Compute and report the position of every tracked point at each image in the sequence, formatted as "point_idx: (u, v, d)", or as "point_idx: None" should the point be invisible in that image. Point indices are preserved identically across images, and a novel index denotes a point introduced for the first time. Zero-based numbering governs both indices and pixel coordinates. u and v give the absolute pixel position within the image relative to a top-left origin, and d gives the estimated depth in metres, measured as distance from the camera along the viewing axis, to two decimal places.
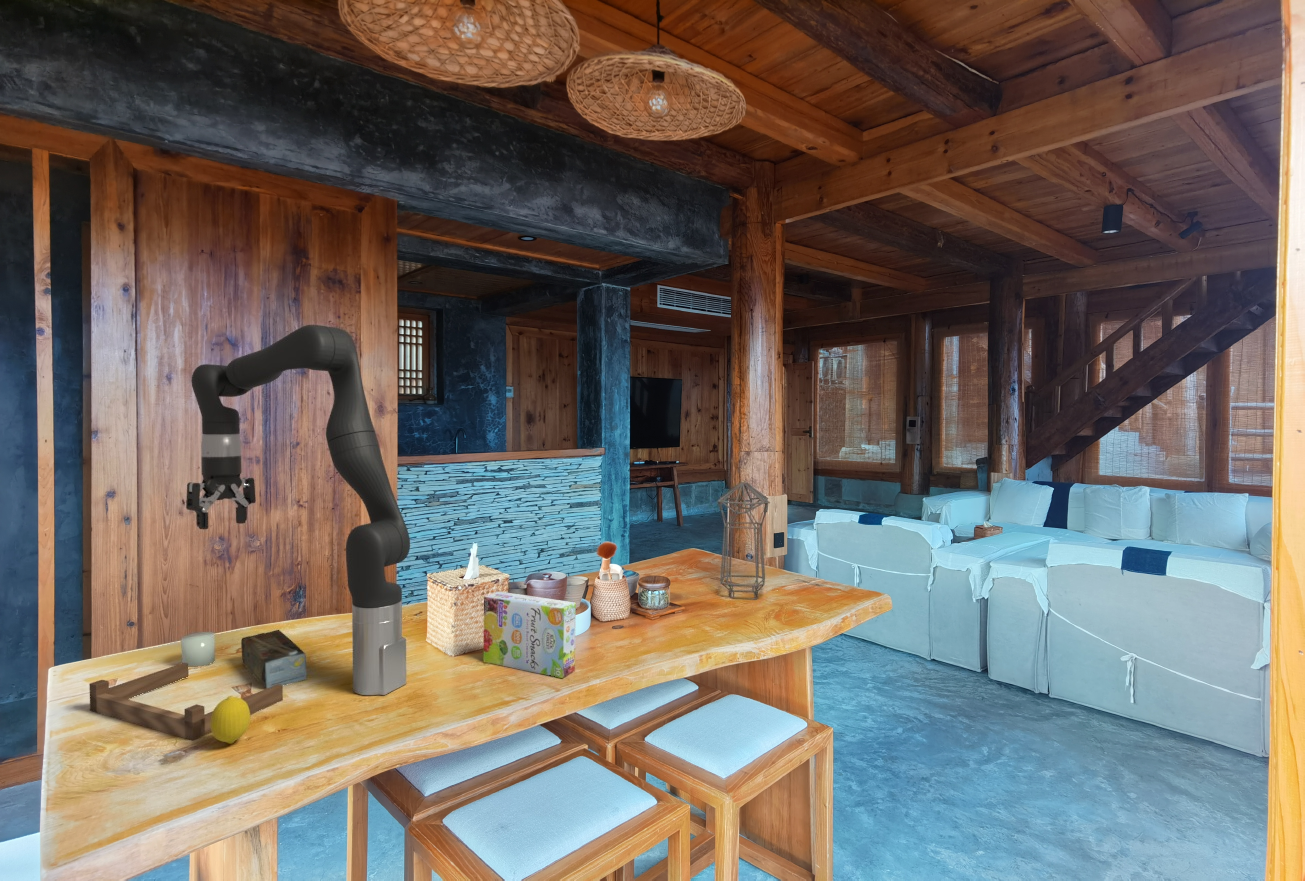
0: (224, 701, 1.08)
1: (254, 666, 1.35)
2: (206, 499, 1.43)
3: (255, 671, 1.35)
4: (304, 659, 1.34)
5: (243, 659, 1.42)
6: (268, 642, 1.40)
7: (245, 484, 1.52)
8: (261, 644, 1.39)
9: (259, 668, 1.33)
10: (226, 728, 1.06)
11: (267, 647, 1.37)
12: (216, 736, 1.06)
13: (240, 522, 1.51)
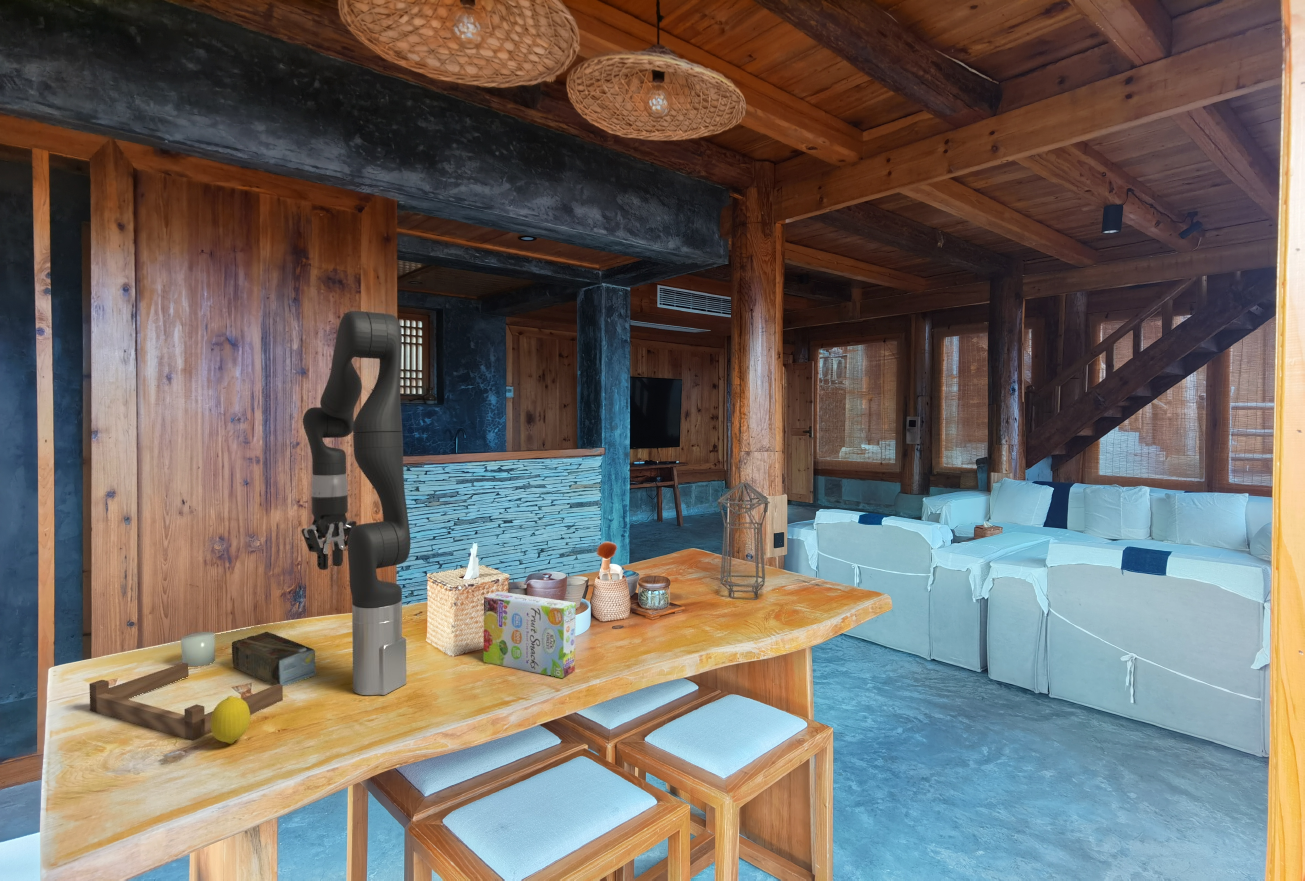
0: (224, 701, 1.08)
1: (258, 667, 1.35)
2: (322, 541, 1.49)
3: (260, 671, 1.34)
4: (314, 655, 1.37)
5: (236, 663, 1.40)
6: (266, 643, 1.39)
7: (347, 525, 1.56)
8: (260, 645, 1.38)
9: (267, 667, 1.33)
10: (226, 729, 1.06)
11: (269, 647, 1.37)
12: (216, 736, 1.06)
13: (337, 565, 1.53)
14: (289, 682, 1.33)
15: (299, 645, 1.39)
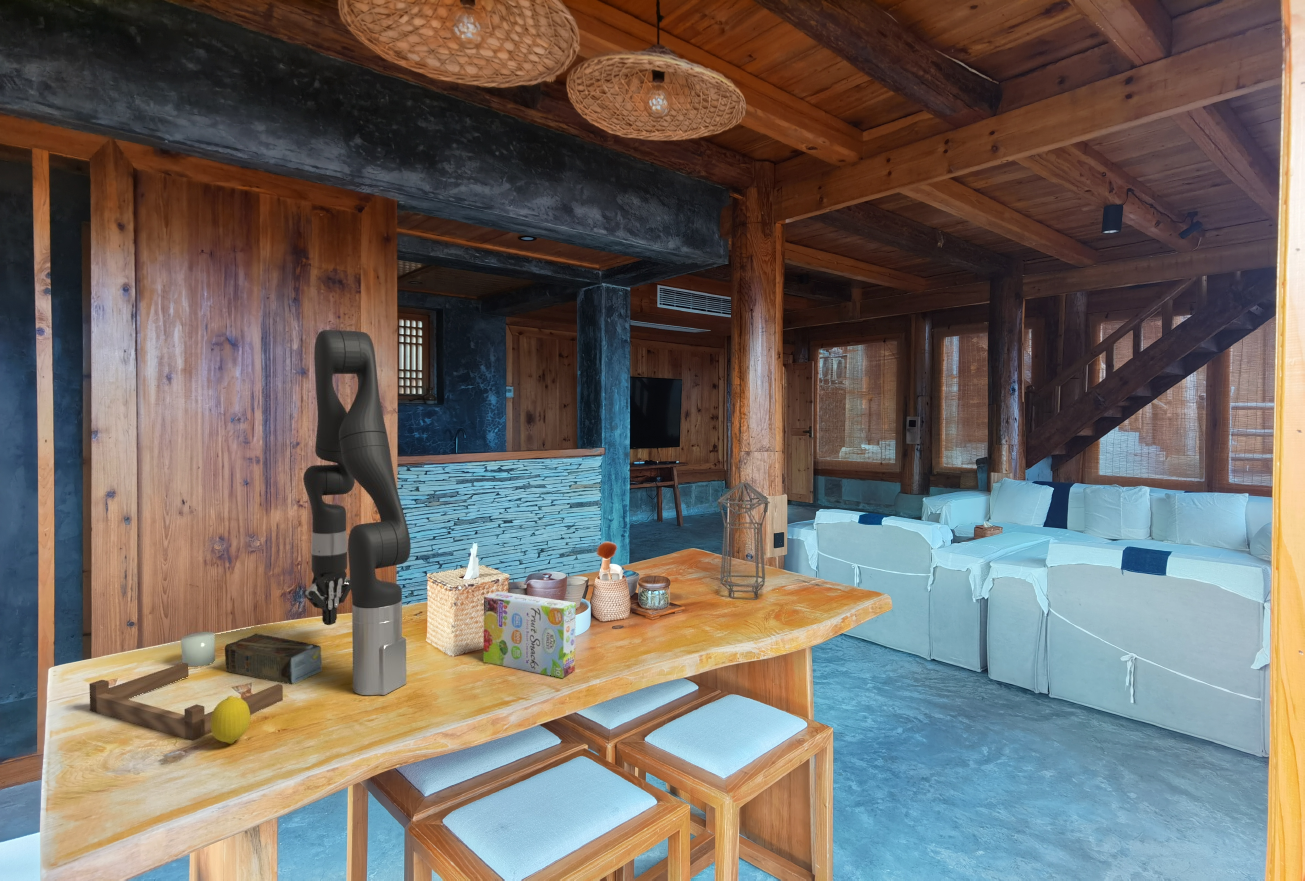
0: (224, 701, 1.08)
1: (263, 666, 1.35)
2: (325, 598, 1.51)
3: (265, 671, 1.35)
4: (320, 651, 1.39)
5: (231, 666, 1.38)
6: (265, 643, 1.39)
7: (345, 582, 1.56)
8: (259, 646, 1.38)
9: (274, 666, 1.34)
10: (226, 729, 1.06)
11: (270, 647, 1.37)
12: (216, 736, 1.06)
13: None
14: (299, 679, 1.34)
15: (302, 643, 1.40)
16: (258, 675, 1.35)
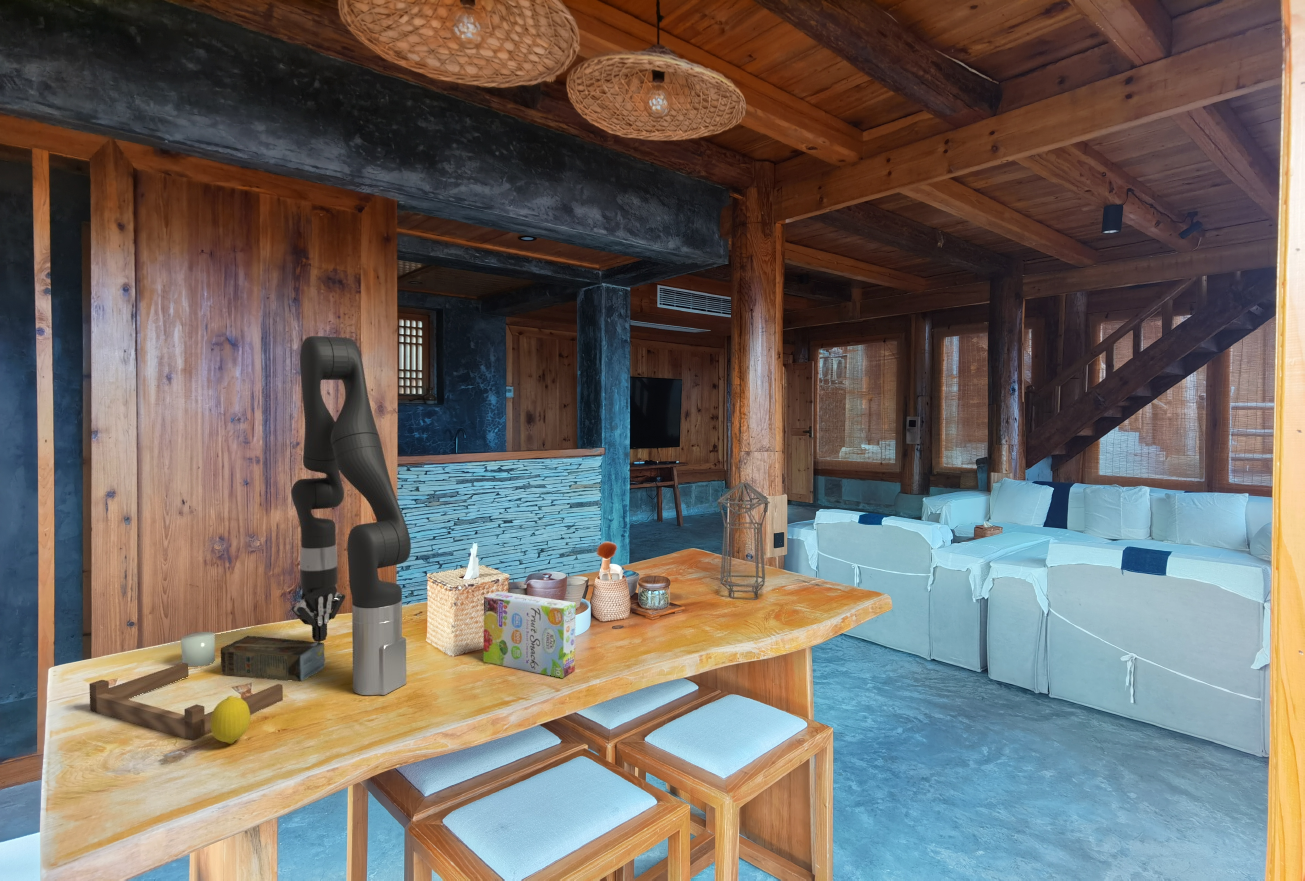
0: (224, 701, 1.08)
1: (267, 666, 1.35)
2: (315, 614, 1.48)
3: (270, 671, 1.35)
4: (323, 648, 1.41)
5: (228, 668, 1.36)
6: (264, 644, 1.39)
7: (336, 597, 1.53)
8: (259, 646, 1.37)
9: (280, 665, 1.35)
10: (226, 729, 1.06)
11: (272, 647, 1.37)
12: (216, 736, 1.06)
13: None
14: (307, 676, 1.36)
15: (303, 641, 1.41)
16: (261, 675, 1.35)
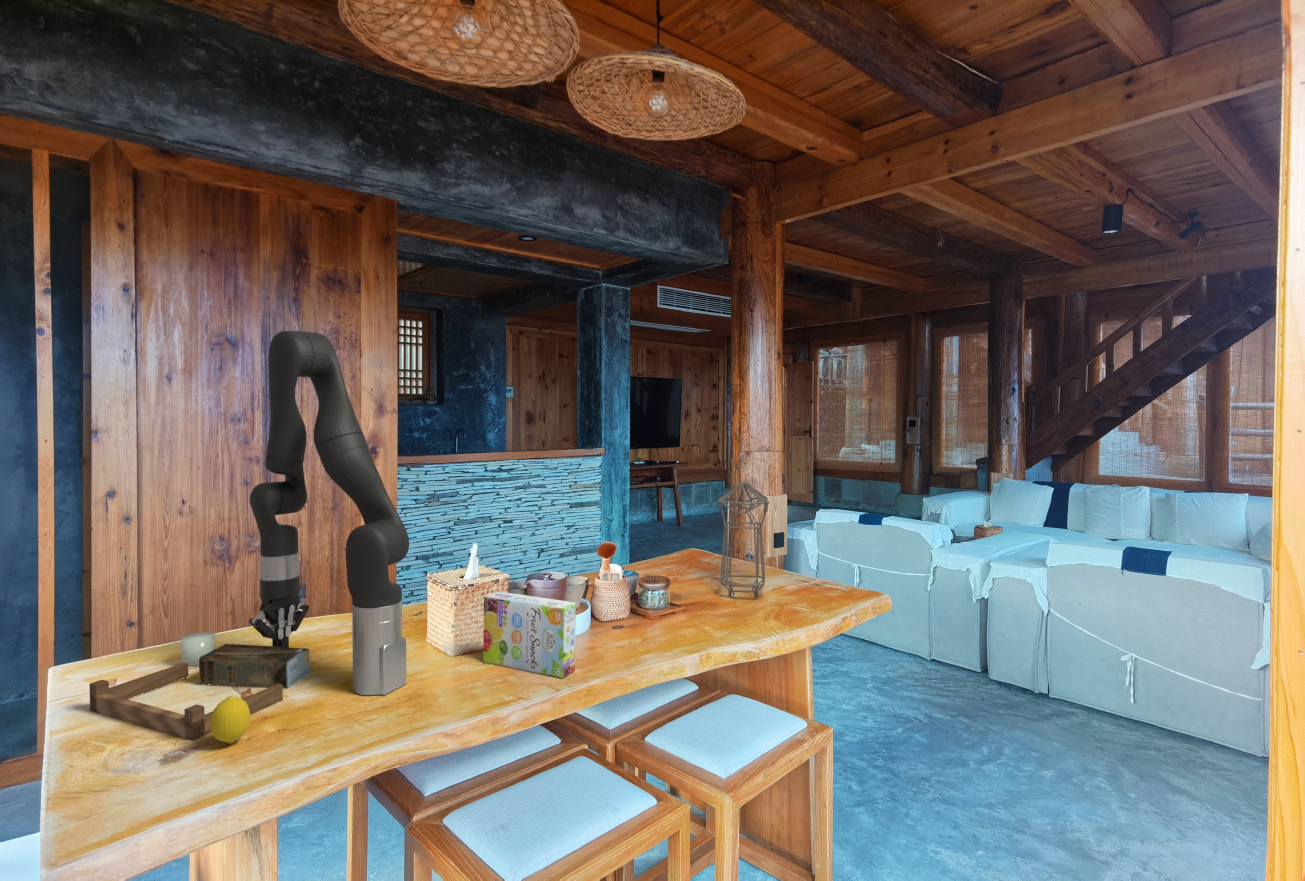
0: (224, 701, 1.08)
1: (251, 674, 1.31)
2: (275, 627, 1.39)
3: (253, 679, 1.31)
4: None
5: (207, 678, 1.32)
6: (245, 652, 1.34)
7: (299, 608, 1.44)
8: (241, 654, 1.33)
9: (265, 673, 1.31)
10: (226, 729, 1.06)
11: (254, 655, 1.33)
12: (216, 736, 1.06)
13: None
14: (293, 683, 1.32)
15: (286, 648, 1.37)
16: (244, 684, 1.31)
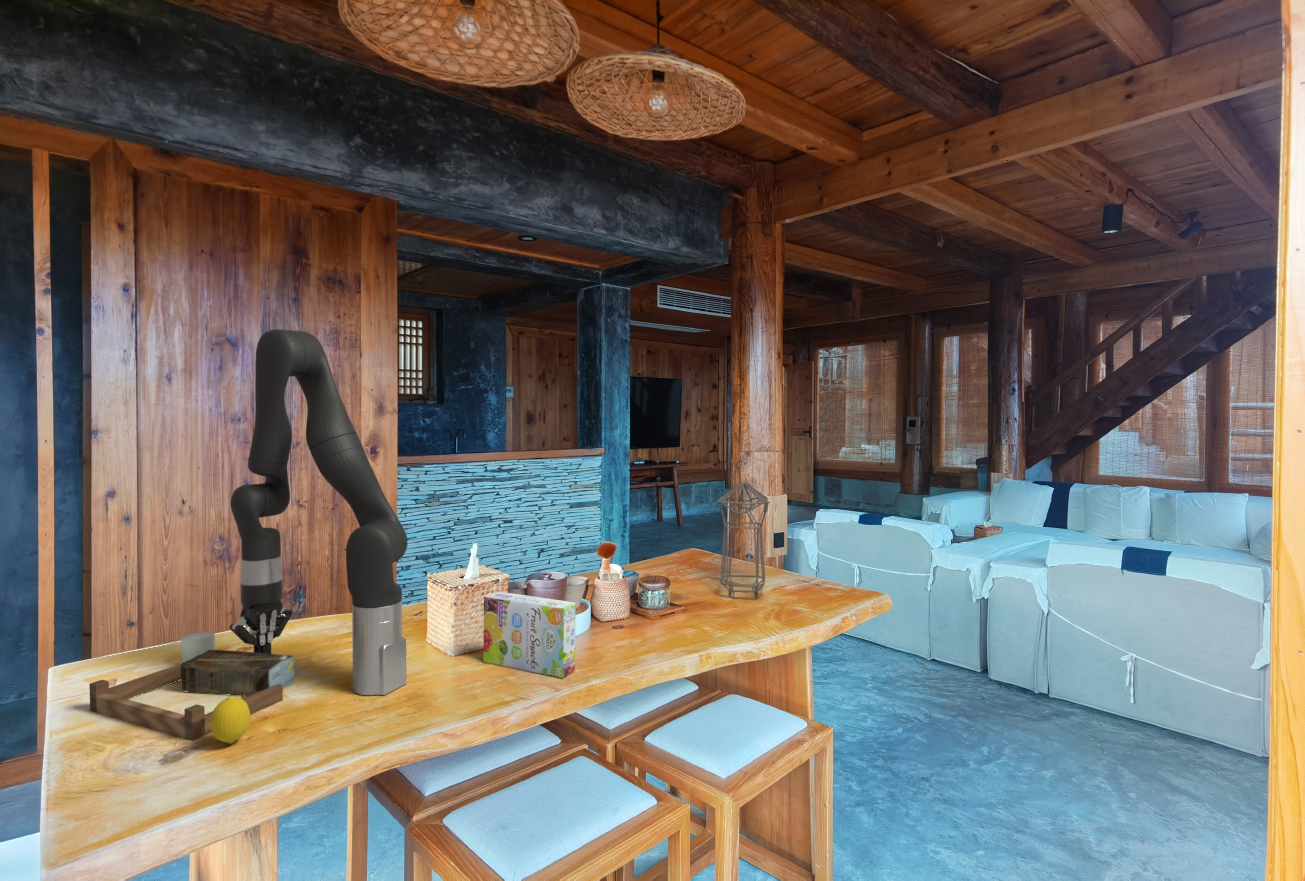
0: (224, 701, 1.08)
1: (233, 682, 1.27)
2: (256, 633, 1.35)
3: (235, 687, 1.27)
4: (293, 662, 1.33)
5: (189, 685, 1.28)
6: (228, 658, 1.31)
7: (282, 614, 1.40)
8: (224, 661, 1.29)
9: (247, 681, 1.27)
10: (226, 729, 1.06)
11: (237, 661, 1.29)
12: (216, 736, 1.06)
13: None
14: None
15: (271, 655, 1.33)
16: (226, 692, 1.27)
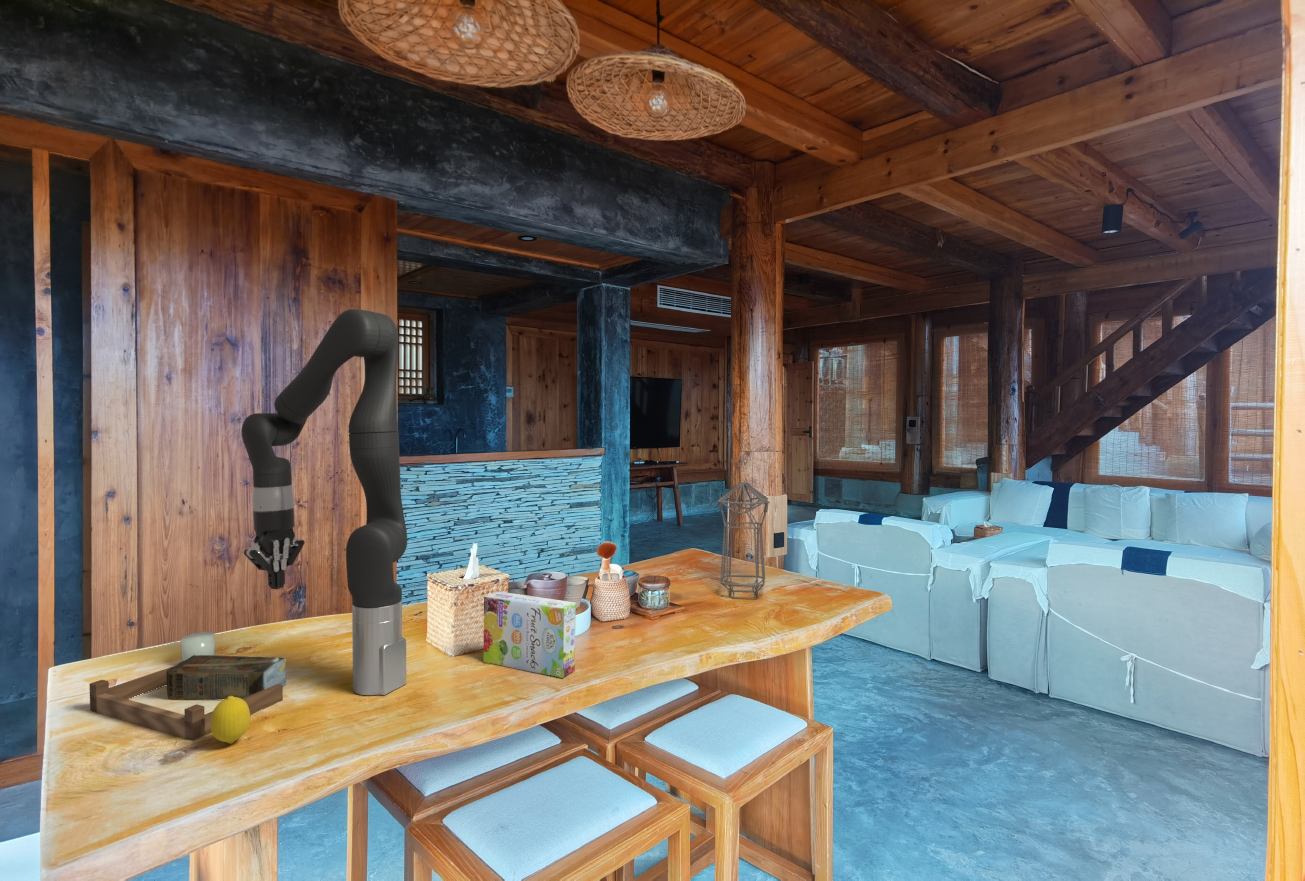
0: (224, 701, 1.08)
1: (224, 686, 1.25)
2: (270, 559, 1.37)
3: (227, 691, 1.25)
4: (285, 664, 1.32)
5: (176, 692, 1.25)
6: (217, 663, 1.28)
7: (294, 543, 1.43)
8: (212, 666, 1.27)
9: (239, 684, 1.25)
10: (226, 728, 1.06)
11: (227, 666, 1.27)
12: (216, 736, 1.06)
13: None
14: None
15: (261, 658, 1.31)
16: (217, 697, 1.25)
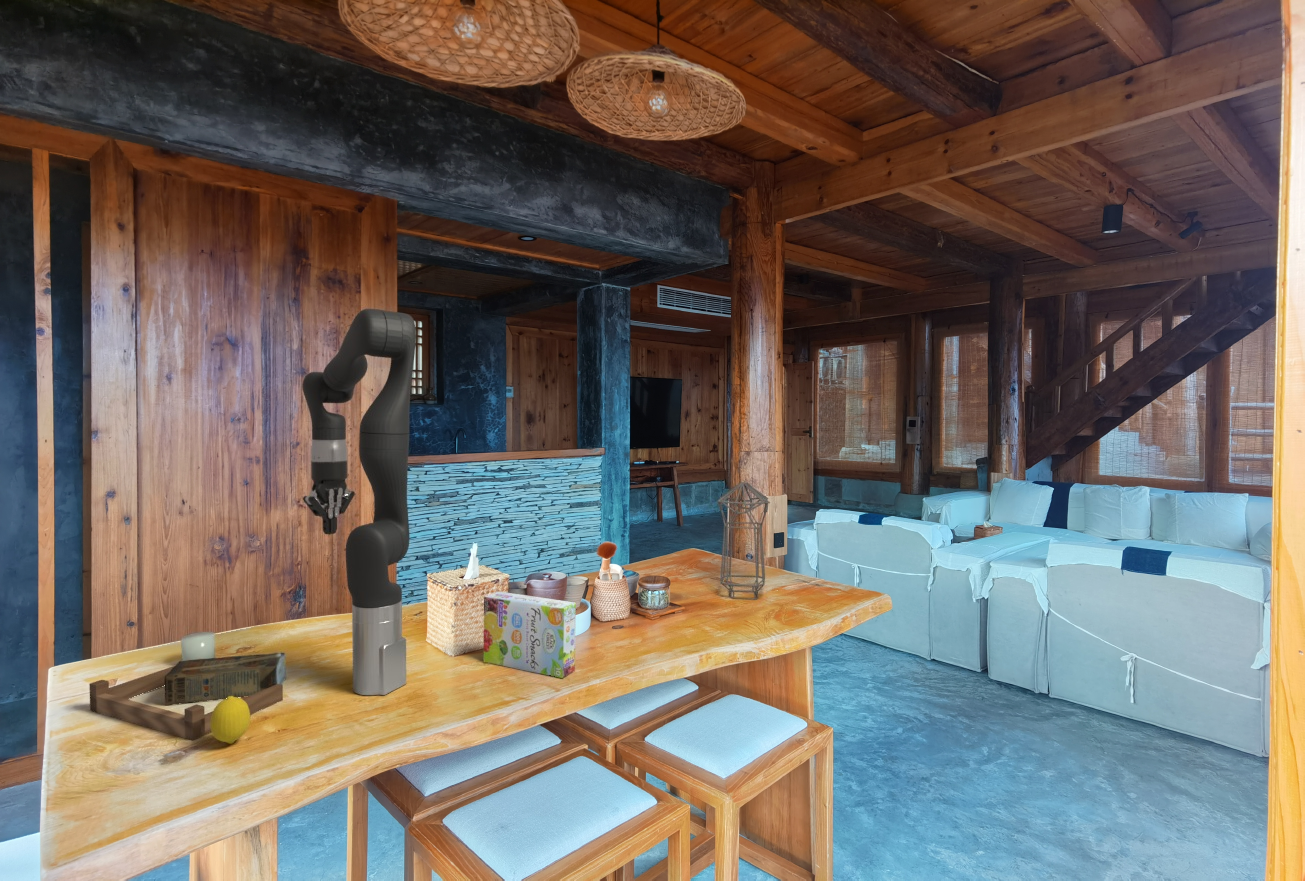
0: (224, 701, 1.08)
1: (233, 685, 1.26)
2: (325, 506, 1.50)
3: (236, 689, 1.26)
4: (285, 658, 1.35)
5: (176, 697, 1.23)
6: (216, 664, 1.28)
7: (346, 494, 1.55)
8: (214, 667, 1.26)
9: (250, 681, 1.27)
10: (226, 729, 1.06)
11: (230, 665, 1.28)
12: (216, 736, 1.06)
13: None
14: None
15: (259, 655, 1.33)
16: (224, 696, 1.25)
